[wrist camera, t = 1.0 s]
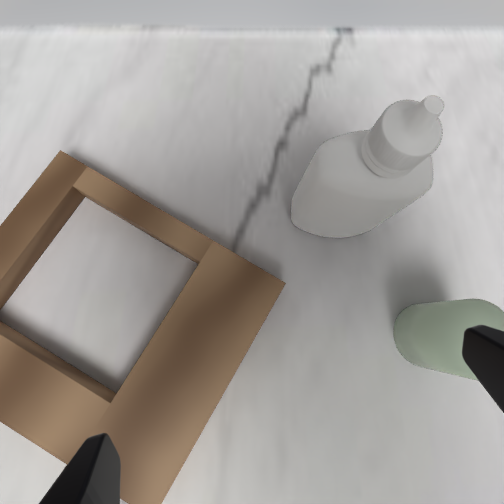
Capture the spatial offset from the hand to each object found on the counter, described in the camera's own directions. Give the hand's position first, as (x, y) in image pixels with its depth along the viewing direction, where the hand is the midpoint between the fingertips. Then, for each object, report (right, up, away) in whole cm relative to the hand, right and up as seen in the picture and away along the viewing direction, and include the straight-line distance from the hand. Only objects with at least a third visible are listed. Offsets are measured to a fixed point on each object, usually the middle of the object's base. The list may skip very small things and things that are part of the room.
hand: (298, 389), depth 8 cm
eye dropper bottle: (+4, +6, +15) cm, 17 cm away
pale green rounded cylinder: (+10, -2, +14) cm, 17 cm away
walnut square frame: (-10, -1, +13) cm, 16 cm away
